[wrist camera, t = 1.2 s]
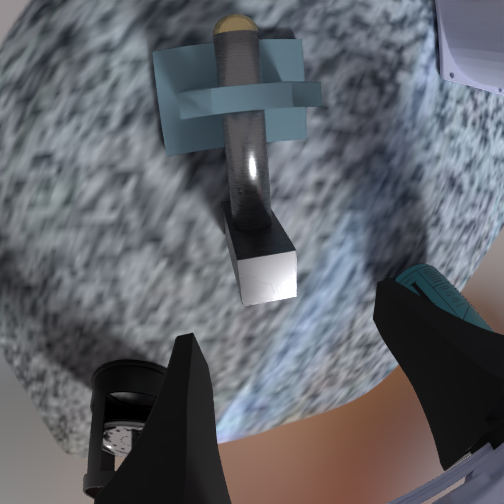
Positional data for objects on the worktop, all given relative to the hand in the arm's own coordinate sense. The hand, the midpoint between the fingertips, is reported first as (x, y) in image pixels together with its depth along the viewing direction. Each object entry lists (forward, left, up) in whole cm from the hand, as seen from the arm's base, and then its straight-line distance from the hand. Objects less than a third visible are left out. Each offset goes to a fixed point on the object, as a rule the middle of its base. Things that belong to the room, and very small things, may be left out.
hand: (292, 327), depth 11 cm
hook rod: (0, -5, -10) cm, 11 cm away
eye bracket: (0, -8, -10) cm, 13 cm away
